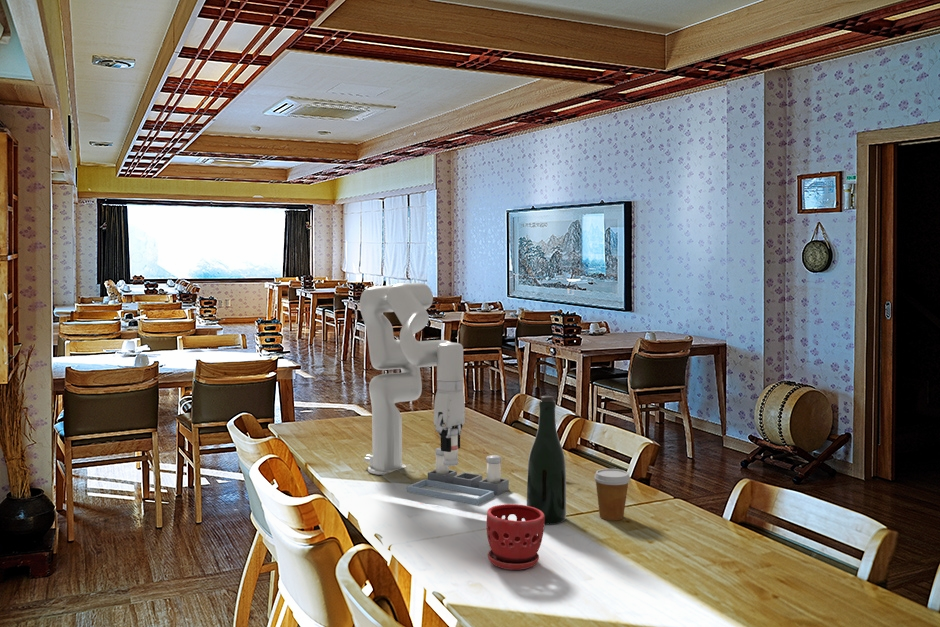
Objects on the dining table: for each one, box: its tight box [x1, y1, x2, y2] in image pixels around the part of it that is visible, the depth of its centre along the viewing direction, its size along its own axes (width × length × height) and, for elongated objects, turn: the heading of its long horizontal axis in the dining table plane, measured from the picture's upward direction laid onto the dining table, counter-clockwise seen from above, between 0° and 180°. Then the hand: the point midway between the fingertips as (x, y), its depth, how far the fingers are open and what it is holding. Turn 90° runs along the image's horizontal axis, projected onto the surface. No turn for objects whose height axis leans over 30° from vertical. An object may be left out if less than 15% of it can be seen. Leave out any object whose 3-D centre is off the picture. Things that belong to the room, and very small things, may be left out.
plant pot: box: [486, 503, 545, 571], centre depth 185 cm, size 13×13×12 cm
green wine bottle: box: [526, 395, 567, 525], centre depth 215 cm, size 10×10×33 cm
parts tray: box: [406, 478, 495, 506], centre depth 234 cm, size 24×9×3 cm, turn 58°
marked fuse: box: [443, 427, 459, 467], centre depth 233 cm, size 4×4×10 cm
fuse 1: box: [434, 447, 450, 475], centre depth 247 cm, size 4×4×10 cm
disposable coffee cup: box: [593, 468, 631, 521], centre depth 218 cm, size 10×10×12 cm
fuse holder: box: [427, 469, 511, 497], centre depth 242 cm, size 25×8×4 cm, turn 58°
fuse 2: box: [486, 454, 502, 484], centre depth 237 cm, size 4×4×10 cm
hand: (450, 449), depth 233 cm, fingers closed on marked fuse, 4 cm apart
